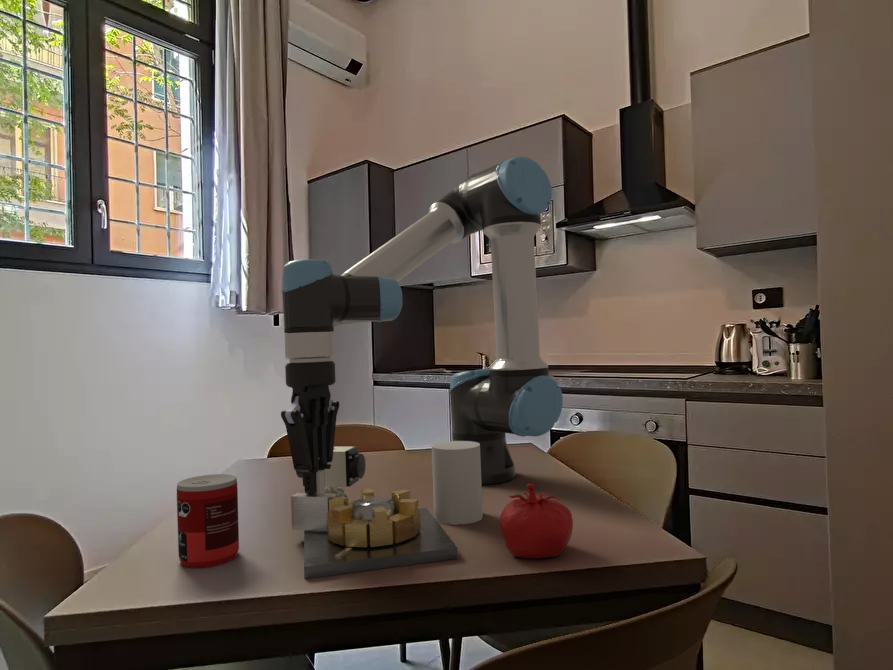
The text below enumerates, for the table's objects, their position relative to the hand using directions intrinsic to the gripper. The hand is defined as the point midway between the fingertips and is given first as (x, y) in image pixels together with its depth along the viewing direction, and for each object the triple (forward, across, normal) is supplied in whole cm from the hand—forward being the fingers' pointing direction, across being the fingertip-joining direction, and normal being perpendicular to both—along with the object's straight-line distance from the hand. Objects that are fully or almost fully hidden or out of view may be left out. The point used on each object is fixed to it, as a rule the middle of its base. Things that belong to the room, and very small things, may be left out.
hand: (315, 512), depth 88 cm
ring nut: (+2, +1, +7) cm, 8 cm away
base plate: (+4, +1, +10) cm, 11 cm away
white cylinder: (+4, -14, +18) cm, 24 cm away
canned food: (+4, +12, -10) cm, 16 cm away
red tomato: (+4, -2, +34) cm, 34 cm away
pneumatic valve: (+4, -14, -5) cm, 16 cm away
